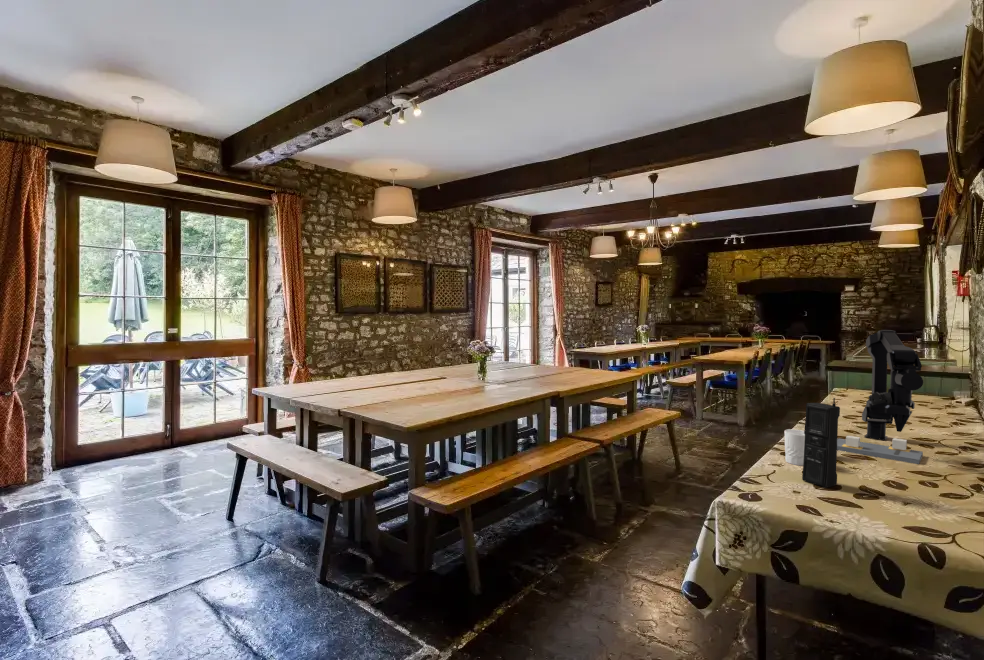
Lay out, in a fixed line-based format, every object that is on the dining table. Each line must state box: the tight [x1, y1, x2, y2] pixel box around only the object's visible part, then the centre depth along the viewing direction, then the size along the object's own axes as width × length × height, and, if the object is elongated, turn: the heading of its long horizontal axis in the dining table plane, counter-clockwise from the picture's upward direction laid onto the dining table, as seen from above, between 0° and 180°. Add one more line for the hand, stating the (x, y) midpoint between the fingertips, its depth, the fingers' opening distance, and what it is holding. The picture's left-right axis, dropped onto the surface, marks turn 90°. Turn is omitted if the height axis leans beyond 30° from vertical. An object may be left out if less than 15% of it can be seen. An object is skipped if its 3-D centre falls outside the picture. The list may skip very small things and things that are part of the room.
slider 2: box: [891, 437, 908, 450], centre depth 171 cm, size 3×4×3 cm
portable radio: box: [801, 397, 841, 489], centre depth 141 cm, size 8×6×25 cm
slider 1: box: [845, 435, 861, 447], centre depth 174 cm, size 3×4×3 cm
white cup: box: [784, 428, 805, 467], centre depth 160 cm, size 8×8×10 cm
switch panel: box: [837, 437, 924, 465], centre depth 172 cm, size 13×24×2 cm, turn 45°
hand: (899, 431), depth 168 cm, fingers closed
